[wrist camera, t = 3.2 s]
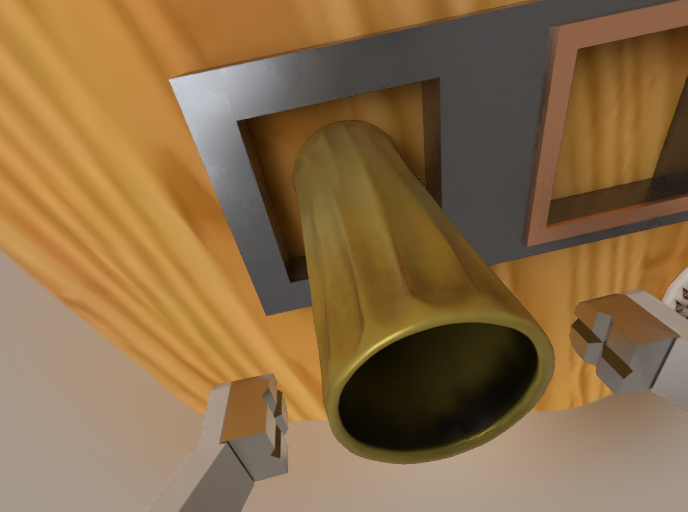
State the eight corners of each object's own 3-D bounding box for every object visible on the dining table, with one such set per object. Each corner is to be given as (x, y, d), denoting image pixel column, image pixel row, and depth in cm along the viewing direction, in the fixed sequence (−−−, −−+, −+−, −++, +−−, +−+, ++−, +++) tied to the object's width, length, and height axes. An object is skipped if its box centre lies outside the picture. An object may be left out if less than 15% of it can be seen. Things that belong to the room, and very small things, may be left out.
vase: (326, 241, 22) (375, 497, 10) (270, 156, 18) (240, 386, 6) (415, 195, 21) (589, 413, 9) (373, 96, 17) (561, 233, 5)
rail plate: (184, 73, 16) (166, 80, 13) (769, -51, 16) (849, -65, 14) (268, 290, 23) (266, 319, 21) (671, 199, 23) (713, 217, 21)
